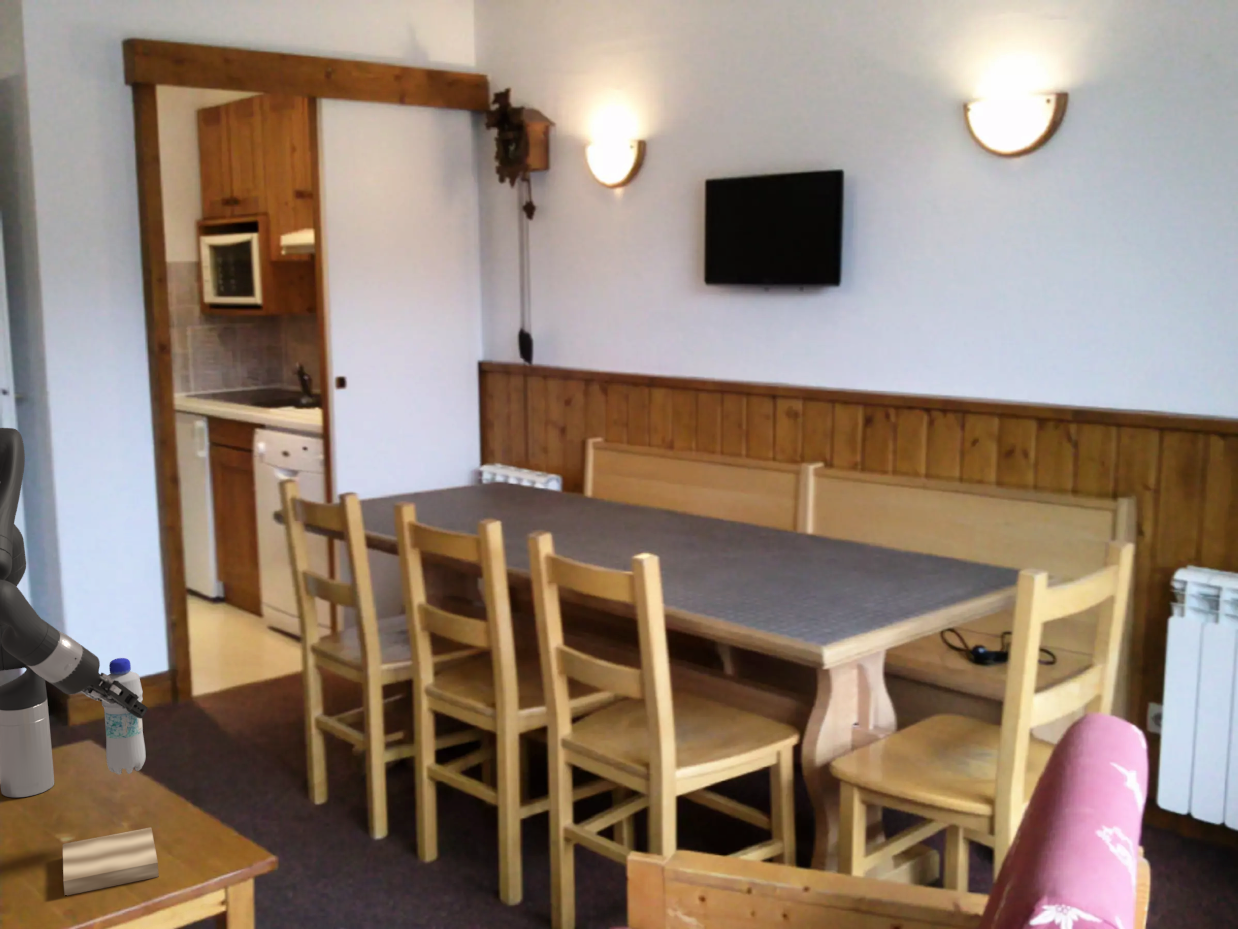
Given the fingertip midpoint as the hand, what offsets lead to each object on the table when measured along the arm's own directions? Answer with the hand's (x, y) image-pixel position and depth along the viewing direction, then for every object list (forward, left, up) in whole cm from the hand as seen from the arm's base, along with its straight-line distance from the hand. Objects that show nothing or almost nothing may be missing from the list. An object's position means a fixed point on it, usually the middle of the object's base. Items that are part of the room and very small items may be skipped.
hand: (131, 709), depth 209 cm
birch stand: (+12, -5, -23) cm, 26 cm away
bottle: (+1, -1, -11) cm, 11 cm away
